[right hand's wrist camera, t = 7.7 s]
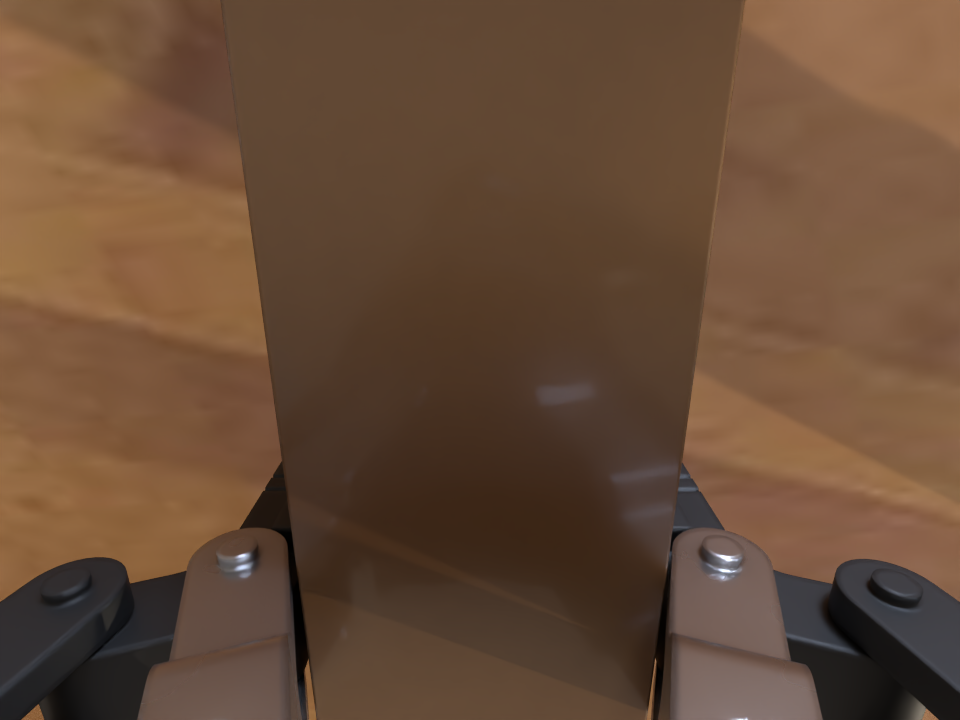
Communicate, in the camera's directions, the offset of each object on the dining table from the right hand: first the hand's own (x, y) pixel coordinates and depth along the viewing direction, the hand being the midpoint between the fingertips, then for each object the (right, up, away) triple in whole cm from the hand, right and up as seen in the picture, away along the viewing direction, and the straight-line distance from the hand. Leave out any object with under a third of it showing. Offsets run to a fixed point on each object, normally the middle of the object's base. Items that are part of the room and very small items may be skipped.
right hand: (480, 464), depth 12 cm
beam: (0, +26, -7) cm, 27 cm away
